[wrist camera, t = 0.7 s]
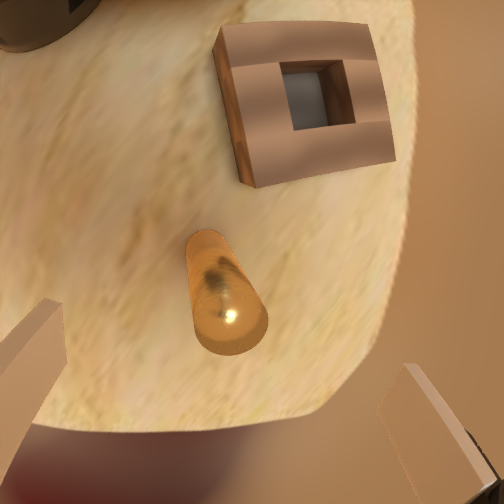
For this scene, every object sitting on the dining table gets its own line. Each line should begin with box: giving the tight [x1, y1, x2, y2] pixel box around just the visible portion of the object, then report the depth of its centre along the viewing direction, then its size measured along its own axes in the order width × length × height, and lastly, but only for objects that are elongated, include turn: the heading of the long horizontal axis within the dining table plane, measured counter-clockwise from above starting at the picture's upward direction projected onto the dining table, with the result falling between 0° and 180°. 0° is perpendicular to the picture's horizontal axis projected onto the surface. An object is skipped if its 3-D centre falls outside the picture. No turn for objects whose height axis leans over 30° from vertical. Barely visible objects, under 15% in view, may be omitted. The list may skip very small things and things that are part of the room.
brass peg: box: [186, 230, 268, 356], centre depth 23 cm, size 4×4×14 cm
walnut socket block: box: [212, 21, 396, 188], centre depth 24 cm, size 13×13×6 cm
